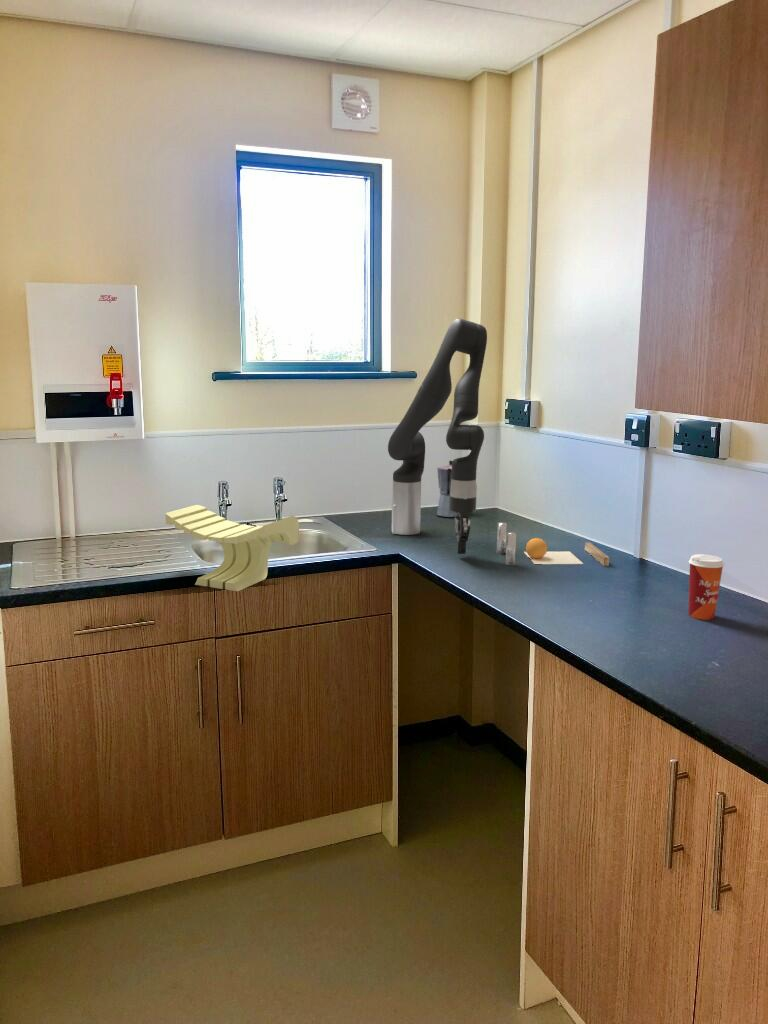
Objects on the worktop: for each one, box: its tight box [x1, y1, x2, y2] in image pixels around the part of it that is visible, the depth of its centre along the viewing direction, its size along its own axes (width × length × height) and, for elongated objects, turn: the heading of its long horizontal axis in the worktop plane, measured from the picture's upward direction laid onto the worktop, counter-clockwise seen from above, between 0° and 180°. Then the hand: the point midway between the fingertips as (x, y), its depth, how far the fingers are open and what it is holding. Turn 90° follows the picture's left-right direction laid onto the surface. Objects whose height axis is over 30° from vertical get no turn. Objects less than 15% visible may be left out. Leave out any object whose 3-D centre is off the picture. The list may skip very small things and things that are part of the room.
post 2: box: [505, 531, 517, 566], centre depth 236 cm, size 3×3×9 cm
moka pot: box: [436, 460, 457, 518], centre depth 299 cm, size 10×15×20 cm, turn 174°
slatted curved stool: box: [165, 504, 300, 592], centre depth 216 cm, size 30×16×18 cm, turn 65°
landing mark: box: [523, 550, 584, 565], centre depth 244 cm, size 14×14×1 cm
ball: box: [525, 537, 548, 559], centre depth 243 cm, size 6×6×6 cm
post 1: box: [496, 521, 508, 555], centre depth 248 cm, size 3×3×9 cm
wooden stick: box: [584, 541, 610, 567], centre depth 244 cm, size 2×18×2 cm, turn 3°
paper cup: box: [688, 553, 725, 621], centre depth 192 cm, size 8×8×14 cm
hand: (461, 553), depth 242 cm, fingers closed
